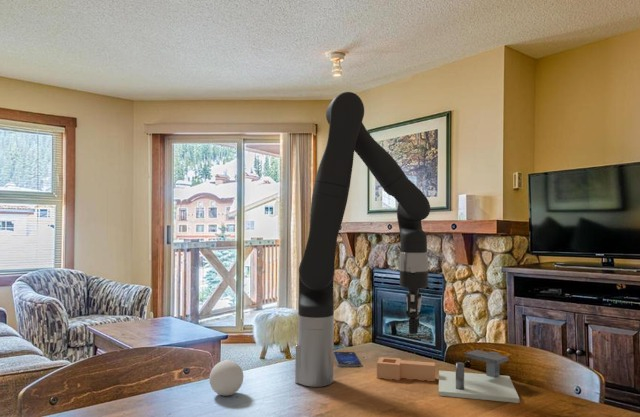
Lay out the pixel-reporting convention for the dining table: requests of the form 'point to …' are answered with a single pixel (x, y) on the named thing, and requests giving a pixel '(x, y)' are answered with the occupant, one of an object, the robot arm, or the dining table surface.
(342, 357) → the smartphone
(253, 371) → the dining table surface
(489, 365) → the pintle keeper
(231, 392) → the ball
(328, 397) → the dining table surface
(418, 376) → the link
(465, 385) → the board
